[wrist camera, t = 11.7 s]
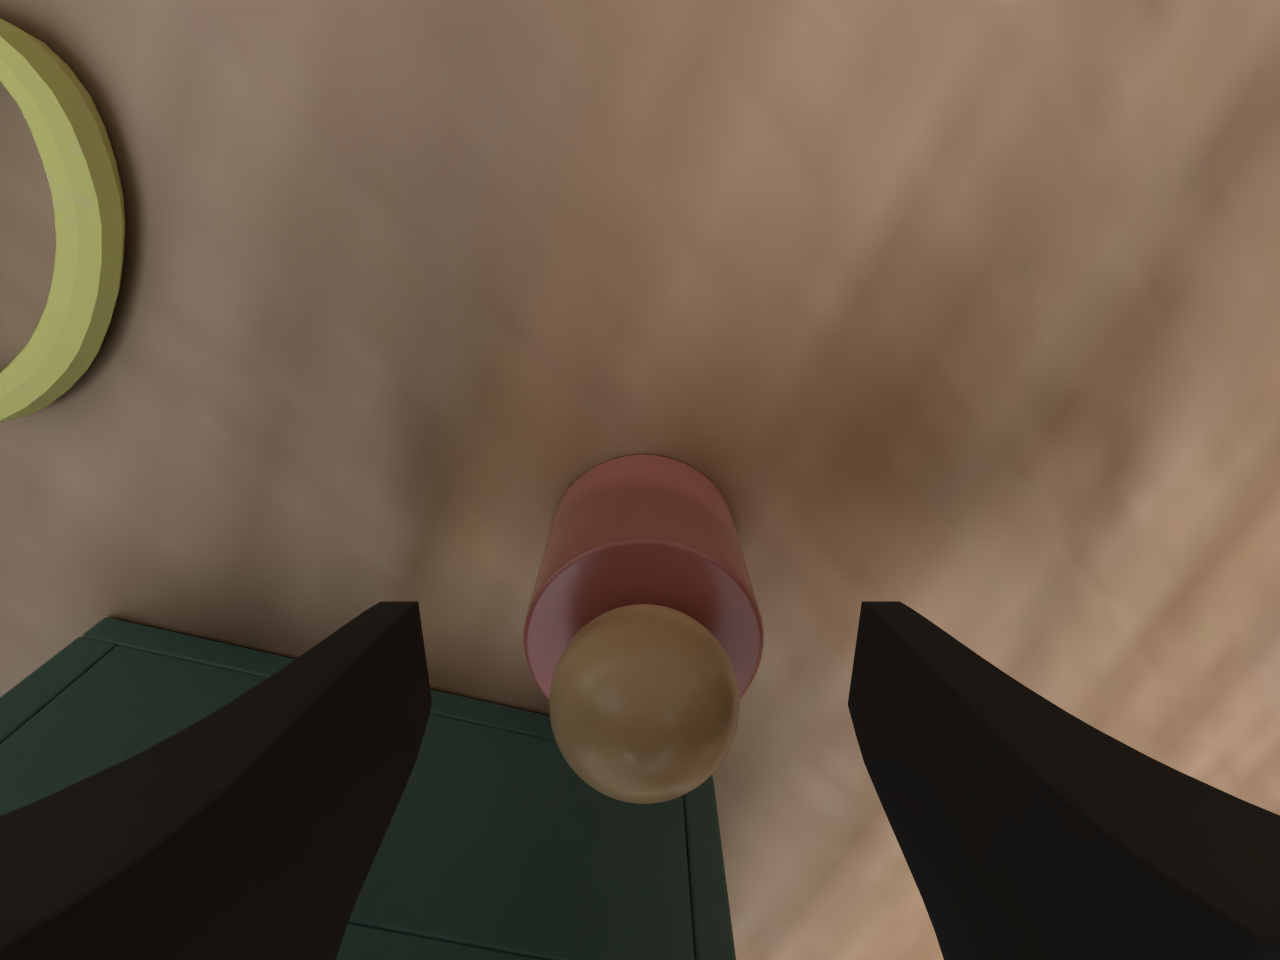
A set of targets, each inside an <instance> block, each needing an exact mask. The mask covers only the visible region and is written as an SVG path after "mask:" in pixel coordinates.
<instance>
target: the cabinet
mask: <svg viewBox="0 0 1280 960" xmlns="http://www.w3.org/2000/svg"><path fill="white" fill-rule="evenodd" d="M294 660H296V659H293V658H289V657H284V656H280V655H275V654H271V653H266V652H262V651H257V650H253V649H248V648H244V647H239V646H235V645H230V644H226V643H221V642H217V641H212V640H208V639H203V638H199V637H194V636H190V635H185V634H181V633H176V632H172V631H168V630H163V629H159V628H154V627H150V626H145V625H141V624H136V623H132V622H127V621H123V620H118V619H114V618H104V619H103V620H101V621H100V622H99V623H97V624H96V625H95V626H94V627H92V628H91V629H90V630H88V631H87V632H86V633H84V635H83V637H79V638H77V639H76V640H74V641H73V642H72V643H71V644H69V645H68V646H67V647H65V648H64V649H63V650H61V651H60V652H59V653H58V654H56V655H55V656H54V657H52V658H51V659H50V660H49V661H47V662H46V663H45V664H43V665H42V666H41V667H39V668H38V669H37V670H36V671H34V672H33V673H32V674H30V675H29V676H28V677H26V678H25V679H24V680H23V681H21V682H20V683H19V684H17V685H16V686H15V687H13V688H12V689H11V690H10V691H8V692H7V693H6V694H4V695H3V696H2V697H1V698H0V816H1V815H4V814H6V813H9V812H11V811H14V810H16V809H18V808H21V807H23V806H26V805H28V804H30V803H33V802H35V801H37V800H40V799H42V798H44V797H47V796H49V795H51V794H53V793H55V792H58V791H60V790H62V789H64V788H66V787H68V786H70V785H73V784H75V783H77V782H79V781H81V780H83V779H85V778H88V777H90V776H92V775H94V774H96V773H98V772H100V771H103V770H105V769H107V768H109V767H111V766H113V765H115V764H118V763H120V762H122V761H124V760H126V759H128V758H130V757H132V756H134V755H136V754H138V753H140V752H142V751H144V750H146V749H148V748H150V747H152V746H154V745H155V744H157V743H159V742H161V741H163V740H165V739H167V738H168V737H170V736H172V735H174V734H176V733H178V732H180V731H182V730H183V729H185V728H187V727H189V726H191V725H192V724H194V723H196V722H198V721H199V720H201V719H203V718H205V717H206V716H208V715H210V714H211V713H213V712H215V711H216V710H218V709H220V708H221V707H223V706H225V705H226V704H228V703H229V702H231V701H232V700H234V699H236V698H237V697H239V696H240V695H242V694H243V693H245V692H247V691H248V690H250V689H251V688H253V687H254V686H256V685H258V684H259V683H261V682H262V681H264V680H265V679H267V678H269V677H270V676H272V675H273V674H275V673H276V672H278V671H279V670H281V669H282V668H284V667H285V666H287V665H288V664H290V663H291V662H293V661H294ZM430 693H431V700H432V707H431V710H430V714H429V718H428V722H427V725H426V729H425V733H424V736H423V740H422V743H421V747H420V750H419V753H418V757H417V760H416V763H415V765H414V768H413V770H412V773H411V775H410V778H409V780H408V782H407V785H406V787H405V789H404V792H403V794H402V796H401V799H400V801H399V804H398V806H397V808H396V811H395V813H394V815H393V817H392V820H391V822H390V824H389V827H388V829H387V831H386V834H385V836H384V838H383V841H382V843H381V845H380V847H379V850H378V852H377V854H376V857H375V859H374V861H373V864H372V866H371V868H370V871H369V873H368V875H367V878H366V880H365V882H364V884H363V887H362V889H361V891H360V894H359V896H358V899H357V901H356V904H355V906H354V909H353V912H352V914H351V917H350V919H349V922H348V925H347V927H346V930H345V933H344V936H343V939H342V942H341V945H340V948H339V952H338V955H337V958H336V960H736V956H735V948H734V941H733V933H732V925H731V917H730V909H729V901H728V893H727V885H726V877H725V869H724V861H723V854H722V846H721V838H720V830H719V822H718V814H717V806H716V798H715V790H714V782H713V777H712V774H711V775H710V776H709V778H708V779H707V780H705V781H704V782H703V783H702V784H701V785H699V786H698V787H696V788H695V789H693V790H692V791H690V792H688V793H686V794H684V795H682V796H680V797H678V798H675V799H672V800H669V801H665V802H660V803H653V804H636V803H629V802H624V801H620V800H616V799H614V798H611V797H608V796H606V795H604V794H602V793H600V792H599V791H597V790H595V789H594V788H592V787H591V786H589V785H588V784H587V783H585V782H584V781H583V780H582V779H581V778H580V777H579V776H578V775H577V774H576V773H575V772H574V771H573V769H572V768H571V767H570V766H569V764H568V763H567V761H566V760H565V758H564V757H563V755H562V753H561V751H560V749H559V747H558V745H557V743H556V740H555V737H554V734H553V730H552V727H551V720H550V716H548V715H544V714H539V713H535V712H530V711H526V710H522V709H517V708H513V707H508V706H504V705H499V704H495V703H490V702H486V701H481V700H477V699H472V698H468V697H463V696H459V695H454V694H450V693H445V692H441V691H436V690H432V689H430Z"/></svg>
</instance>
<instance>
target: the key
mask: <svg viewBox="0 0 1280 960" xmlns="http://www.w3.org/2000/svg"><path fill="white" fill-rule="evenodd" d="M0 81H1V83H2V84H3V85H4V86H5V88H6V89H7V90H8V92H9V93H10V94H11V95H12V97H13V98H14V99H15V101H16V102H17V103H18V105H19V107H20V109H21V111H22V113H23V115H24V117H25V119H26V121H27V123H28V125H29V127H30V129H31V132H32V135H33V137H34V140H35V143H36V145H37V148H38V150H39V153H40V156H41V158H42V162H43V165H44V168H45V172H46V175H47V178H48V182H49V185H50V189H51V192H52V200H53V207H54V214H55V229H56V245H57V246H56V255H55V264H54V273H53V279H52V283H51V288H50V293H49V297H48V302H47V305H46V307H45V310H44V312H43V314H42V317H41V319H40V321H39V324H38V326H37V328H36V330H35V332H34V334H33V336H32V337H31V339H30V341H29V342H28V343H27V345H26V346H25V347H24V348H23V350H22V351H21V352H20V353H19V354H18V356H17V357H16V358H15V359H14V360H13V361H12V362H11V363H10V364H9V365H8V366H7V367H6V368H5V369H4V370H2V371H1V372H0V421H5V420H10V419H15V418H21V417H26V416H28V415H30V414H32V413H34V412H36V411H38V410H40V409H42V408H45V407H47V406H48V405H50V404H51V403H52V402H54V401H55V400H56V399H57V398H59V397H60V396H61V395H62V394H64V393H65V392H66V391H68V390H69V389H70V388H71V387H72V386H73V385H74V384H75V382H76V381H77V380H78V379H79V378H80V377H81V376H82V375H83V374H84V373H85V372H86V371H87V369H88V368H89V366H90V365H91V363H92V361H93V360H94V358H95V357H96V355H97V353H98V352H99V349H100V347H101V344H102V342H103V339H104V337H105V334H106V332H107V329H108V326H109V324H110V321H111V318H112V314H113V310H114V307H115V303H116V300H117V296H118V292H119V289H120V281H121V274H122V266H123V258H124V239H125V212H124V198H123V192H122V187H121V182H120V178H119V173H118V168H117V163H116V160H115V157H114V154H113V150H112V147H111V144H110V141H109V138H108V135H107V132H106V128H105V126H104V124H103V122H102V119H101V117H100V115H99V113H98V111H97V108H96V106H95V104H94V102H93V100H92V97H91V96H90V94H89V93H88V92H87V90H86V89H85V88H84V86H83V85H82V84H81V82H80V81H79V79H78V78H77V77H76V75H75V74H74V73H73V71H72V70H71V69H70V67H69V66H68V65H67V64H66V63H65V62H64V61H63V60H62V59H61V58H60V57H59V56H58V55H56V54H55V53H54V52H53V51H52V50H51V49H50V48H49V47H48V46H47V45H46V44H45V43H44V42H42V41H40V40H38V39H37V38H35V37H33V36H31V35H30V34H28V33H26V32H24V31H23V30H21V29H19V28H17V27H16V26H14V25H12V24H10V23H8V22H6V21H5V20H3V19H1V18H0Z"/></svg>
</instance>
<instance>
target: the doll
mask: <svg viewBox="0 0 1280 960" xmlns="http://www.w3.org/2000/svg"><path fill="white" fill-rule="evenodd" d="M763 634H764V632H763V625H762V619H761V615H760V612H759V608H758V605H757V601H756V598H755V595H754V591H753V588H752V584H751V581H750V578H749V574H748V571H747V567H746V564H745V560H744V557H743V554H742V550H741V547H740V543H739V540H738V536H737V533H736V530H735V526H734V523H733V519H732V516H731V513H730V510H729V508H728V506H727V503H726V501H725V499H724V498H723V496H722V495H721V493H720V492H719V490H718V489H717V488H716V487H715V486H714V485H713V483H712V482H711V481H710V480H708V479H707V478H706V477H705V476H704V475H703V474H701V473H700V472H698V471H697V470H695V469H694V468H692V467H690V466H688V465H686V464H684V463H682V462H679V461H676V460H673V459H670V458H666V457H661V456H655V455H631V456H625V457H619V458H616V459H613V460H610V461H607V462H604V463H602V464H600V465H598V466H596V467H594V468H592V469H591V470H589V471H588V472H586V473H585V474H584V475H582V476H581V477H580V478H579V479H577V480H576V481H575V482H574V484H573V485H572V486H571V487H570V488H569V489H568V490H567V492H566V493H565V495H564V496H563V498H562V499H561V501H560V503H559V505H558V507H557V510H556V513H555V516H554V519H553V522H552V526H551V529H550V533H549V537H548V540H547V544H546V547H545V551H544V555H543V558H542V562H541V566H540V569H539V573H538V576H537V580H536V584H535V587H534V591H533V594H532V598H531V602H530V605H529V609H528V613H527V616H526V622H525V627H524V648H525V655H526V659H527V663H528V666H529V669H530V671H531V673H532V676H533V678H534V680H535V682H536V684H537V685H538V687H539V688H540V690H541V691H542V693H543V694H544V696H545V697H546V698H547V699H548V700H549V712H550V720H551V727H552V730H553V734H554V737H555V740H556V743H557V745H558V747H559V749H560V751H561V753H562V755H563V757H564V758H565V760H566V761H567V763H568V764H569V766H570V767H571V768H572V769H573V771H574V772H575V773H576V774H577V775H578V776H579V777H580V778H581V779H582V780H583V781H584V782H585V783H587V784H588V785H589V786H591V787H592V788H594V789H595V790H597V791H599V792H600V793H602V794H604V795H606V796H608V797H611V798H614V799H616V800H620V801H624V802H629V803H636V804H653V803H660V802H665V801H669V800H672V799H675V798H678V797H680V796H682V795H684V794H686V793H688V792H690V791H692V790H693V789H695V788H696V787H698V786H699V785H701V784H702V783H703V782H704V781H705V780H707V779H708V778H709V776H710V775H711V774H712V773H713V772H714V771H715V770H716V769H717V768H718V766H719V765H720V764H721V762H722V761H723V759H724V757H725V756H726V754H727V752H728V750H729V748H730V746H731V744H732V741H733V738H734V735H735V732H736V728H737V723H738V717H739V699H740V698H741V697H742V696H743V695H744V693H745V692H746V690H747V689H748V687H749V686H750V684H751V682H752V680H753V678H754V676H755V674H756V672H757V669H758V666H759V663H760V660H761V656H762V650H763Z"/></svg>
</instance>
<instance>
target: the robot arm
mask: <svg viewBox="0 0 1280 960" xmlns="http://www.w3.org/2000/svg"><path fill="white" fill-rule="evenodd" d="M431 707H432V700H431V693H430V685H429V678H428V671H427V663H426V656H425V649H424V641H423V634H422V627H421V620H420V612H419V605H418V602H379V603H378V604H376V605H374V606H372V607H371V608H369V609H368V610H366V611H365V612H363V613H362V614H360V615H359V616H357V617H356V618H354V619H353V620H351V621H350V622H349V623H347V624H346V625H344V626H343V627H341V628H340V629H339V630H337V631H336V632H334V633H333V634H331V635H330V636H329V637H327V638H326V639H324V640H323V641H321V642H320V643H319V644H317V645H316V646H314V647H313V648H311V649H310V650H309V651H307V652H306V653H304V654H303V655H301V656H300V657H298V658H297V659H296V660H294V661H293V662H291V663H290V664H288V665H287V666H285V667H284V668H282V669H281V670H279V671H278V672H276V673H275V674H273V675H272V676H270V677H269V678H267V679H265V680H264V681H262V682H261V683H259V684H258V685H256V686H254V687H253V688H251V689H250V690H248V691H247V692H245V693H243V694H242V695H240V696H239V697H237V698H236V699H234V700H232V701H231V702H229V703H228V704H226V705H225V706H223V707H221V708H220V709H218V710H216V711H215V712H213V713H211V714H210V715H208V716H206V717H205V718H203V719H201V720H199V721H198V722H196V723H194V724H192V725H191V726H189V727H187V728H185V729H183V730H182V731H180V732H178V733H176V734H174V735H172V736H170V737H168V738H167V739H165V740H163V741H161V742H159V743H157V744H155V745H154V746H152V747H150V748H148V749H146V750H144V751H142V752H140V753H138V754H136V755H134V756H132V757H130V758H128V759H126V760H124V761H122V762H120V763H118V764H115V765H113V766H111V767H109V768H107V769H105V770H103V771H100V772H98V773H96V774H94V775H92V776H90V777H88V778H85V779H83V780H81V781H79V782H77V783H75V784H73V785H70V786H68V787H66V788H64V789H62V790H60V791H58V792H55V793H53V794H51V795H49V796H47V797H44V798H42V799H40V800H37V801H35V802H33V803H30V804H28V805H26V806H23V807H21V808H18V809H16V810H14V811H11V812H9V813H6V814H4V815H1V816H0V960H336V958H337V955H338V952H339V948H340V945H341V942H342V939H343V936H344V933H345V930H346V927H347V925H348V922H349V919H350V917H351V914H352V912H353V909H354V906H355V904H356V901H357V899H358V896H359V894H360V891H361V889H362V887H363V884H364V882H365V880H366V878H367V875H368V873H369V871H370V868H371V866H372V864H373V861H374V859H375V857H376V854H377V852H378V850H379V847H380V845H381V843H382V841H383V838H384V836H385V834H386V831H387V829H388V827H389V824H390V822H391V820H392V817H393V815H394V813H395V811H396V808H397V806H398V804H399V801H400V799H401V796H402V794H403V792H404V789H405V787H406V785H407V782H408V780H409V778H410V775H411V773H412V770H413V768H414V765H415V763H416V760H417V757H418V753H419V750H420V747H421V743H422V740H423V736H424V733H425V729H426V725H427V722H428V718H429V714H430V710H431ZM848 707H849V710H850V714H851V718H852V722H853V725H854V729H855V733H856V736H857V740H858V743H859V747H860V750H861V753H862V757H863V760H864V763H865V765H866V768H867V770H868V773H869V775H870V778H871V780H872V782H873V785H874V787H875V789H876V792H877V794H878V796H879V799H880V801H881V804H882V806H883V808H884V811H885V813H886V815H887V817H888V820H889V822H890V824H891V827H892V829H893V831H894V834H895V836H896V838H897V841H898V843H899V845H900V847H901V850H902V852H903V854H904V857H905V859H906V861H907V864H908V866H909V868H910V871H911V873H912V875H913V878H914V880H915V882H916V884H917V887H918V889H919V891H920V894H921V896H922V899H923V901H924V904H925V906H926V909H927V912H928V914H929V917H930V919H931V922H932V925H933V927H934V930H935V933H936V936H937V939H938V942H939V945H940V948H941V952H942V955H943V958H944V960H1280V816H1279V815H1277V814H1275V813H1272V812H1270V811H1267V810H1265V809H1262V808H1260V807H1258V806H1255V805H1253V804H1250V803H1248V802H1246V801H1243V800H1241V799H1239V798H1236V797H1234V796H1232V795H1230V794H1228V793H1225V792H1223V791H1221V790H1219V789H1217V788H1214V787H1212V786H1210V785H1208V784H1205V783H1203V782H1201V781H1199V780H1197V779H1194V778H1192V777H1190V776H1188V775H1186V774H1183V773H1181V772H1179V771H1177V770H1175V769H1173V768H1171V767H1169V766H1167V765H1165V764H1163V763H1161V762H1158V761H1156V760H1154V759H1152V758H1150V757H1148V756H1146V755H1144V754H1142V753H1141V752H1139V751H1137V750H1135V749H1133V748H1131V747H1129V746H1127V745H1126V744H1124V743H1122V742H1120V741H1118V740H1116V739H1114V738H1112V737H1110V736H1109V735H1107V734H1105V733H1103V732H1101V731H1099V730H1097V729H1095V728H1094V727H1092V726H1090V725H1088V724H1087V723H1085V722H1083V721H1081V720H1080V719H1078V718H1076V717H1074V716H1073V715H1071V714H1069V713H1068V712H1066V711H1064V710H1063V709H1061V708H1059V707H1058V706H1056V705H1054V704H1053V703H1051V702H1050V701H1048V700H1046V699H1045V698H1043V697H1041V696H1040V695H1038V694H1037V693H1035V692H1033V691H1032V690H1030V689H1029V688H1027V687H1025V686H1024V685H1022V684H1021V683H1019V682H1018V681H1016V680H1015V679H1013V678H1012V677H1010V676H1009V675H1007V674H1006V673H1004V672H1003V671H1001V670H1000V669H998V668H997V667H995V666H994V665H992V664H991V663H989V662H988V661H986V660H985V659H983V658H982V657H980V656H979V655H978V654H976V653H975V652H973V651H972V650H970V649H969V648H967V647H966V646H965V645H963V644H962V643H960V642H959V641H957V640H956V639H955V638H953V637H952V636H950V635H949V634H948V633H946V632H945V631H943V630H942V629H940V628H939V627H938V626H936V625H935V624H933V623H932V622H930V621H929V620H928V619H926V618H925V617H923V616H922V615H920V614H919V613H917V612H916V611H914V610H913V609H911V608H910V607H908V606H906V605H905V604H903V603H901V602H862V605H861V612H860V620H859V627H858V634H857V641H856V649H855V656H854V663H853V671H852V678H851V685H850V693H849V700H848Z"/></svg>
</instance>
